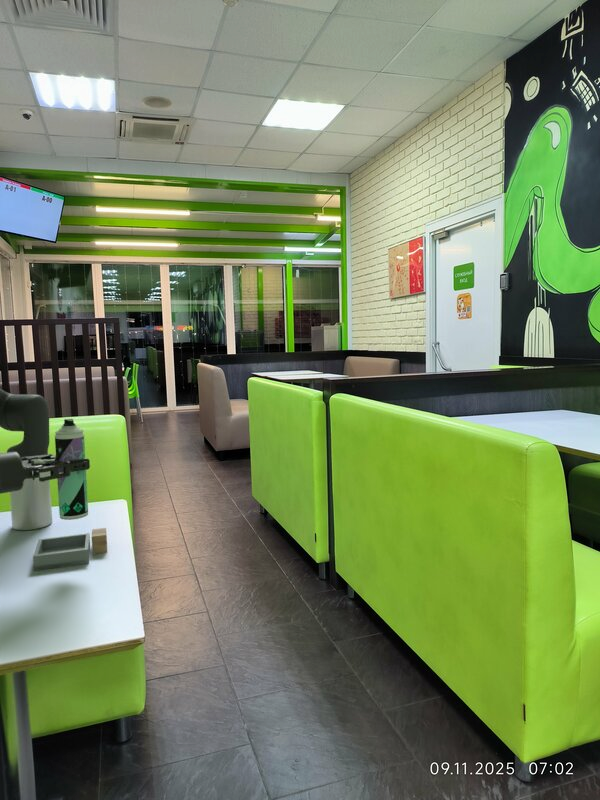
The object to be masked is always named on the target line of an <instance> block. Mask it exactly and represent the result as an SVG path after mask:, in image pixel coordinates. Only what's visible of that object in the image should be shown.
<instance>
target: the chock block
mask: <svg viewBox="0 0 600 800" xmlns="http://www.w3.org/2000/svg"><path fill="white" fill-rule="evenodd" d="M91 549H92V550H91V551H92V554H93V555H94V553H97V554H101V553H103V552H104V553H108V538H107V527H100V528H93V529H91Z"/></svg>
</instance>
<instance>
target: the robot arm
mask: <svg viewBox="0 0 600 800" xmlns="http://www.w3.org/2000/svg"><path fill="white" fill-rule="evenodd" d="M0 428H1V429H4V430H6V431H9V432H23V439H22V441H21V442H20V443H18V444H16V445H12V446H10V447H9V448H7V450H6V452H1V453H0V494H6V493H9V499H10V513H11V514H10V515H11V526H12V527H11V528H12V529H13V530H16V531H29V530H31V531H32V530H38V529H41V528H44V527H47V526H49V525H52V523H53V513H52V512H53V511H52V509H53V508H52V494H51V480H57V478H62V477H68V476H70V473H71V472H75V471H82V470H86V471H87V470H90V468H91V465H90V462H91V461H90V459H89V458H87V457H85V458H84V459H78V460H71V461H68V460H66V461H57V459H56V454H53V453H49V446H50V411H49V405H48V402H47V400H46V398H45V397H44V396H42V395H40V394H28V393H27V394H17V393H16V394H14V393H9V392H7V391H5V390H3V389H2V388H0ZM48 453H49V454H48ZM61 467H63V471H59V468H61Z"/></svg>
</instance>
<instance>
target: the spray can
mask: <svg viewBox="0 0 600 800" xmlns="http://www.w3.org/2000/svg"><path fill="white" fill-rule="evenodd" d="M63 421H64V423H63V424H62V425H61V428H59V429H58V430H56V431H54V442H55V443H54V444H55V445H54V448H55V455H56V459H57V461H66V460H68V461H71V460H78V459H84V458H86V448H85V447H86V446H85V434H84V430H83V429H82V428H80V427H78V426H77V424H75V423H74V422H75V421H74V419H72V418H64V420H63ZM59 471H63V467H61V468H59ZM56 480H57V481H56V482H57V492H58V493H57V496H58V498H57V499H58V513H59V519H61V520H64V521H72V520H79V519H82V518H86V517H87V516H88V515H89V502H88V500H89V499H88V483H87V482H88V481H87V470H82V471H75V472H71V473H70V476H68V477H62V478H57V479H56Z"/></svg>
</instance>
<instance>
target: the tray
mask: <svg viewBox="0 0 600 800" xmlns="http://www.w3.org/2000/svg"><path fill="white" fill-rule="evenodd" d="M90 537H91V536H90V533H89V532H88V533H80V534H79V533H78V534H72V535H64V536H56V537H55V536H54V537H47V538H41V539H40V538H39V539H38V540H37V541H38V542H37V544H36V547H35V551H34V553H33V556H32V557H33V558H32V559H33V571H34V572H35V571H42V570H49V569H55V568H56V569H57V568H62V567H63V568H64V567H70V566H72V567H73V566H79V565H84V564H89V563H90V555H91V554H90V552H91V538H90Z"/></svg>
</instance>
